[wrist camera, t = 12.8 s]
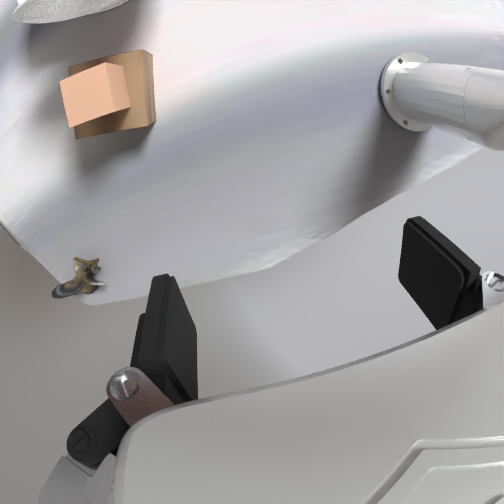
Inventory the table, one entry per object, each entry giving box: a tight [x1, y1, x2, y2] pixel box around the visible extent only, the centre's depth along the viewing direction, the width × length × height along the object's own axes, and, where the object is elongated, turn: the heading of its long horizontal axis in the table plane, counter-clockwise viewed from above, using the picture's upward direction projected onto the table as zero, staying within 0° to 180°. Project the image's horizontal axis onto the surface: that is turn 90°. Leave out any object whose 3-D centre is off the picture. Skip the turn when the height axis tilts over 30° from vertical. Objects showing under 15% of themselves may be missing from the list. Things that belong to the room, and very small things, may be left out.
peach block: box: [59, 62, 131, 128], centre depth 24 cm, size 5×5×6 cm
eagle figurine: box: [52, 257, 106, 298], centre depth 42 cm, size 8×7×9 cm
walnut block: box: [69, 50, 156, 139], centre depth 29 cm, size 9×9×6 cm
